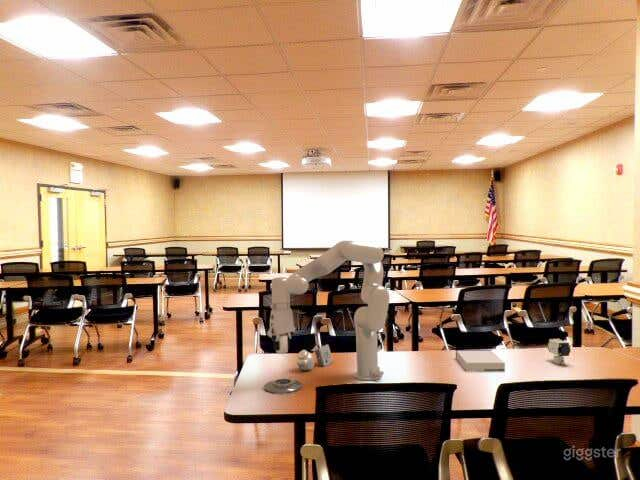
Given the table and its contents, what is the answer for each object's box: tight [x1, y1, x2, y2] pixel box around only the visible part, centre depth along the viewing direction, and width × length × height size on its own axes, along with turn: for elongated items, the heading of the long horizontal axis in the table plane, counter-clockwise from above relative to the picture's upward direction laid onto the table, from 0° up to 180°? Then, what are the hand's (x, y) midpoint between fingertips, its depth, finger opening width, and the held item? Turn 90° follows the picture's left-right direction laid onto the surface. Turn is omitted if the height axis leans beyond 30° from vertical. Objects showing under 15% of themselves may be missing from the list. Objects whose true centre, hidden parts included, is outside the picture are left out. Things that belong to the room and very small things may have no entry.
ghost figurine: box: [296, 349, 316, 371], centre depth 227 cm, size 9×10×10 cm
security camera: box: [547, 337, 571, 365], centre depth 228 cm, size 6×12×12 cm, turn 6°
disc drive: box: [455, 349, 506, 373], centre depth 229 cm, size 18×22×5 cm
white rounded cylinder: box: [275, 334, 289, 354], centre depth 203 cm, size 5×5×8 cm
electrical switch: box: [314, 344, 334, 368], centre depth 237 cm, size 9×5×9 cm, turn 152°
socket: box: [263, 378, 303, 394], centre depth 203 cm, size 16×16×2 cm
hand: (282, 348), depth 203 cm, fingers closed on white rounded cylinder, 5 cm apart
